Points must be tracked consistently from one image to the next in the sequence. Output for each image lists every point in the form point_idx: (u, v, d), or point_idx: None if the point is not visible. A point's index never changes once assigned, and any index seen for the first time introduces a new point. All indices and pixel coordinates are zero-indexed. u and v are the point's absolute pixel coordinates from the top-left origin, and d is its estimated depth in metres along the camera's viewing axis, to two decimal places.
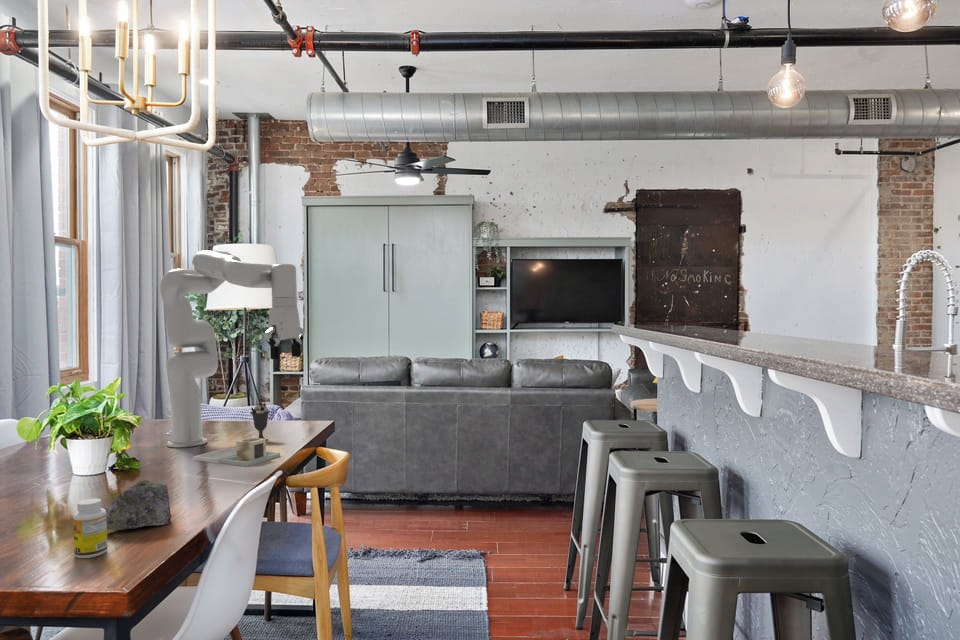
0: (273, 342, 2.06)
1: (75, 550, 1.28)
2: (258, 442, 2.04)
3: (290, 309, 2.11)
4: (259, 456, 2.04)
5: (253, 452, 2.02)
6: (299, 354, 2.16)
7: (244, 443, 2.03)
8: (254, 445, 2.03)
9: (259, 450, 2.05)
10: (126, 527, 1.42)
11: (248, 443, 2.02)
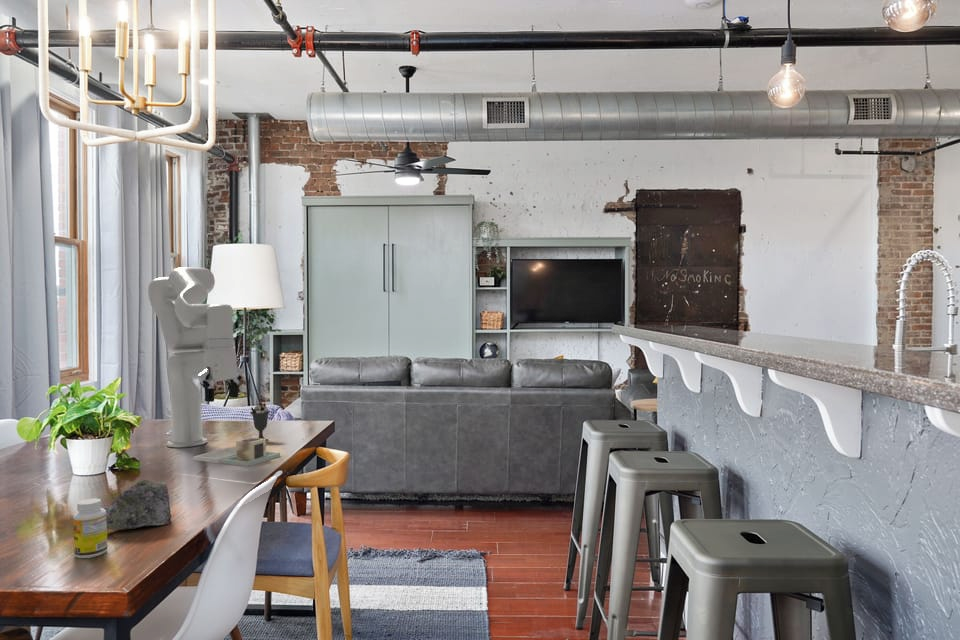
0: (207, 384, 2.04)
1: (75, 550, 1.28)
2: (258, 442, 2.04)
3: (226, 350, 2.09)
4: (259, 456, 2.04)
5: (253, 452, 2.02)
6: (236, 395, 2.14)
7: (244, 443, 2.03)
8: (254, 445, 2.03)
9: (259, 450, 2.05)
10: (126, 527, 1.42)
11: (248, 443, 2.02)
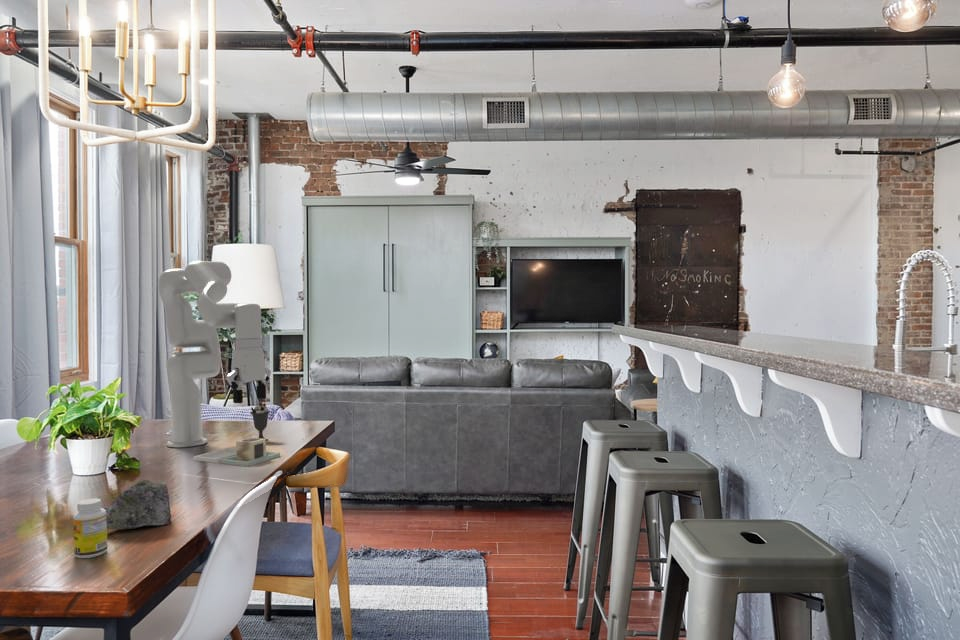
0: (235, 386, 1.99)
1: (75, 550, 1.28)
2: (258, 442, 2.04)
3: (254, 350, 2.04)
4: (259, 456, 2.04)
5: (253, 452, 2.02)
6: (264, 396, 2.09)
7: (244, 443, 2.03)
8: (254, 445, 2.03)
9: (259, 450, 2.05)
10: (126, 527, 1.42)
11: (248, 443, 2.02)
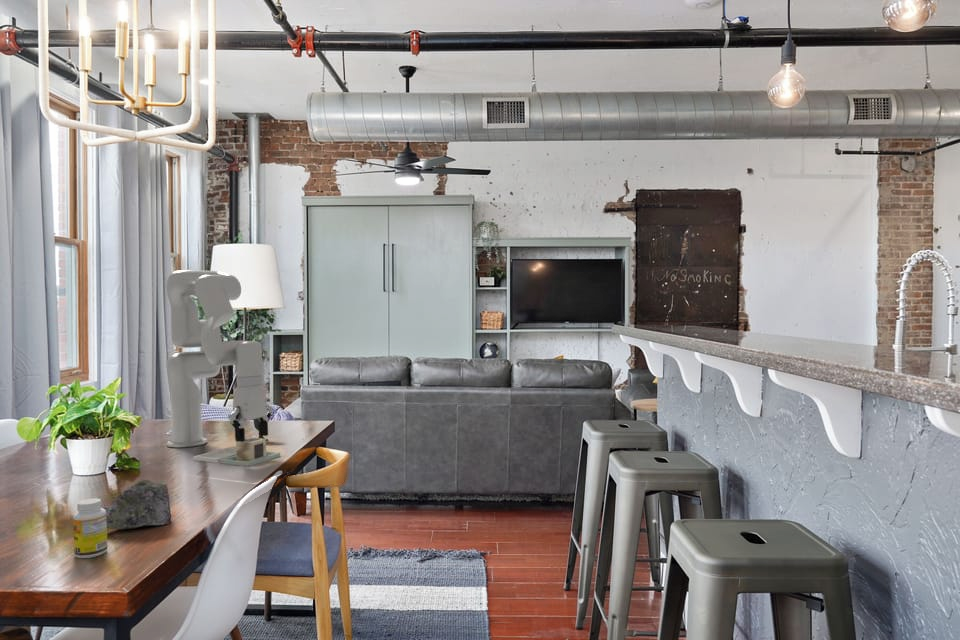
0: (237, 424, 1.99)
1: (75, 550, 1.28)
2: (258, 442, 2.04)
3: (255, 388, 2.04)
4: (259, 456, 2.04)
5: (253, 452, 2.02)
6: (266, 433, 2.09)
7: (244, 443, 2.03)
8: (254, 445, 2.03)
9: (259, 450, 2.05)
10: (126, 526, 1.42)
11: (248, 443, 2.02)
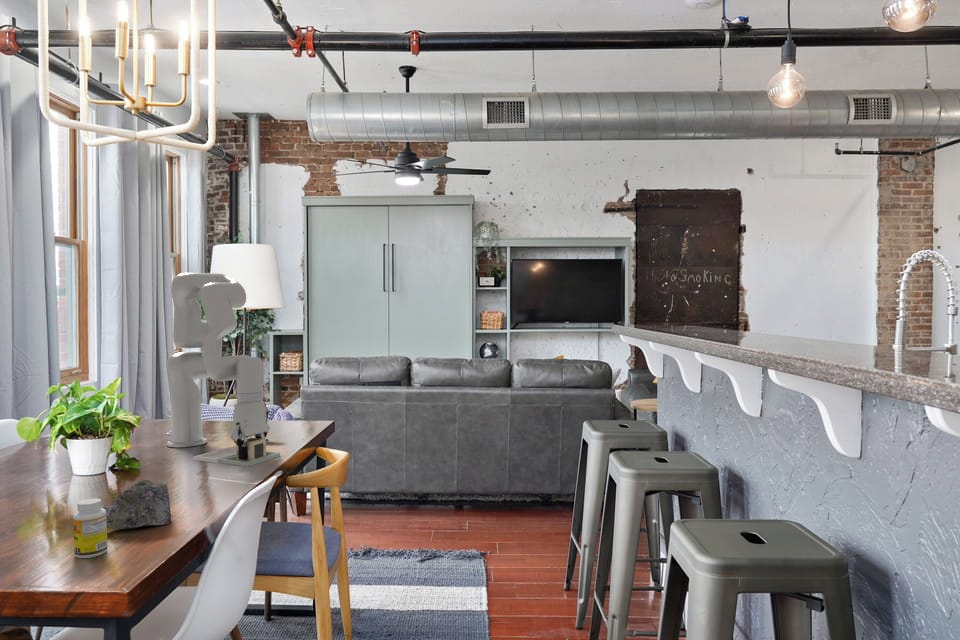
0: (241, 443, 2.01)
1: (75, 550, 1.28)
2: (258, 442, 2.04)
3: (255, 404, 2.04)
4: (259, 456, 2.04)
5: (253, 452, 2.02)
6: None
7: None
8: (254, 445, 2.03)
9: (259, 450, 2.05)
10: (126, 526, 1.42)
11: (248, 443, 2.02)
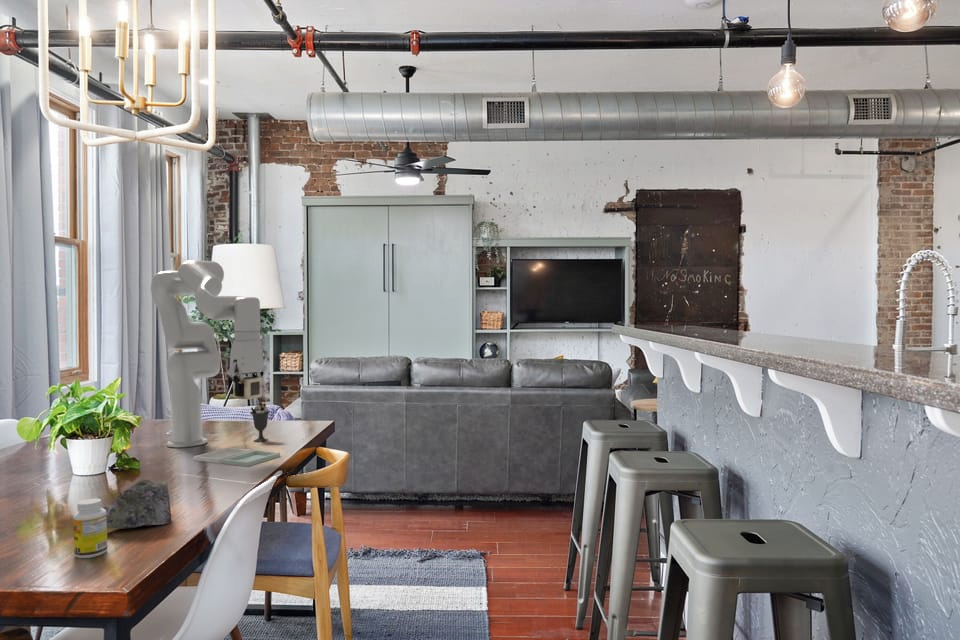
0: (237, 379, 2.06)
1: (75, 550, 1.28)
2: (254, 380, 2.09)
3: (252, 343, 2.09)
4: (255, 394, 2.09)
5: (249, 390, 2.07)
6: None
7: None
8: (250, 383, 2.07)
9: (255, 388, 2.09)
10: (126, 526, 1.42)
11: (244, 380, 2.07)
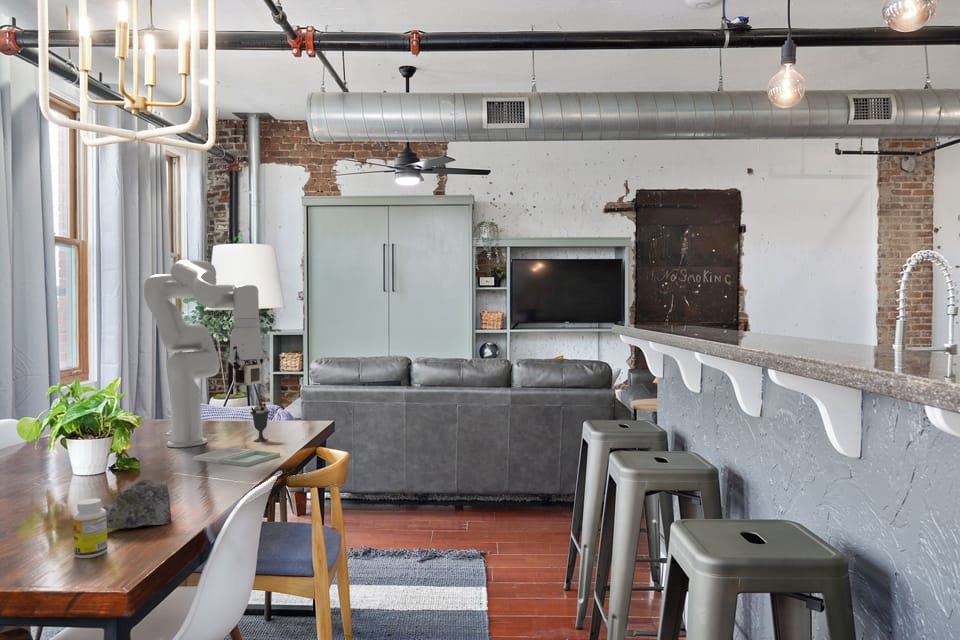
0: (238, 366, 2.09)
1: (75, 550, 1.28)
2: (254, 366, 2.12)
3: (252, 330, 2.12)
4: (255, 380, 2.12)
5: (249, 376, 2.10)
6: None
7: None
8: (250, 369, 2.11)
9: (255, 374, 2.12)
10: (125, 526, 1.42)
11: (245, 367, 2.10)
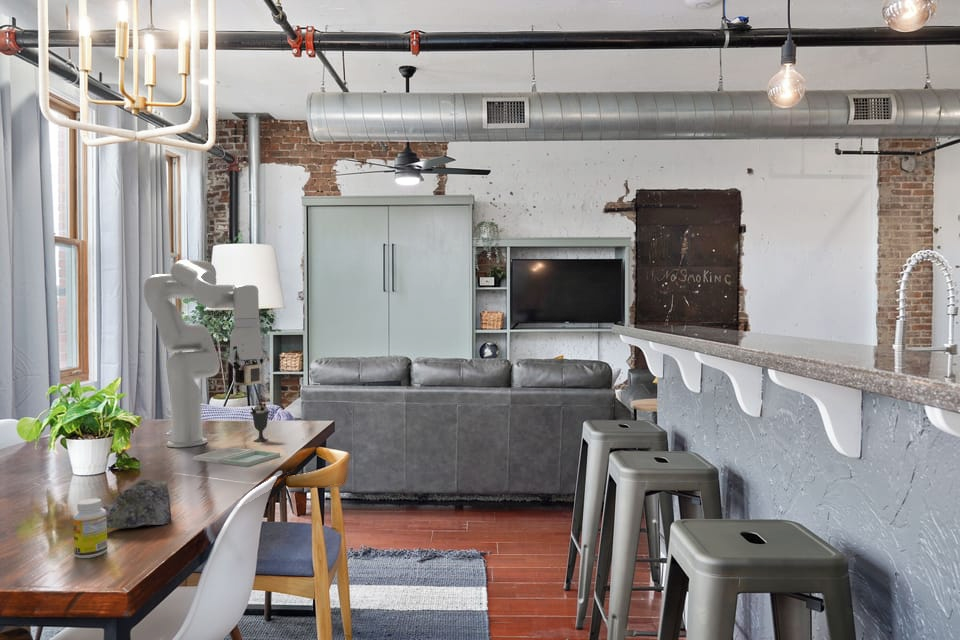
0: (238, 366, 2.09)
1: (75, 550, 1.28)
2: (254, 366, 2.12)
3: (252, 330, 2.12)
4: (255, 380, 2.12)
5: (249, 376, 2.10)
6: None
7: None
8: (250, 369, 2.11)
9: (255, 374, 2.12)
10: (125, 526, 1.42)
11: (245, 367, 2.10)
